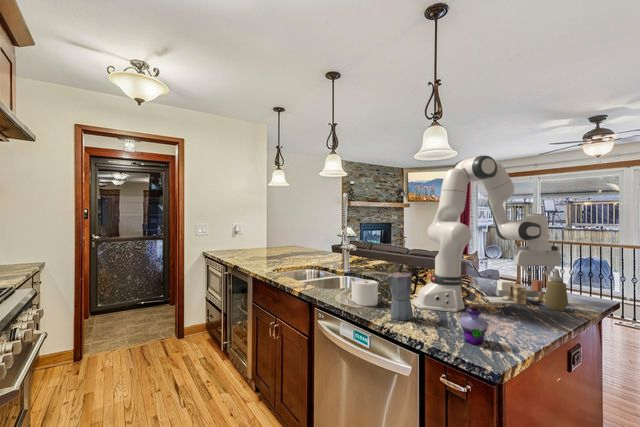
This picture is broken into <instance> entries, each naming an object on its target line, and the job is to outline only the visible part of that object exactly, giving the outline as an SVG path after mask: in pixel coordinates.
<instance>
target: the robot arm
mask: <svg viewBox="0 0 640 427" xmlns="http://www.w3.org/2000/svg"><path fill="white" fill-rule="evenodd" d="M476 181H477V182H478V181H481V182H482V183H483V186H484V188H485V190H486V192H487V196H488V197H487V204H488V208H489V210H490V213H491V216H492V219H493V221H494V224H495V225H494V226H495V233H496V234H497V236H498V238H499V239H501V240H504V241H505V240H506V241H521V242H522V241H523V242H525V244H526V246H517V247H516V248H515V249H514V258H513V259H514V260H513V262H514V264H515V265H516V266H520V267H522V269H523V271H524V275H525V276H530V275H531V271H529V270H528V268H529V267H546V268H547V270H545V271H544V274H545V276H551V272H552V270H553V269H554V267H561V265H562V254H561V252H560V251H561V247H560V246H558V245H554V244H552V243H551V244H550V243H549V237H548V234H549V223H548V222H549V221H548V219H547V216H546V215H544V214H541V213H528V214H527V216H526V217H525V218H522V219H520V220H512V219H510V218H508V216H507V213H506V211H505V207H504V203H505V202H507V201H508V200H509V199H511V198H512V196H513V195H514V193H515V186H514V183H513V180H512V178H511V177H510V174H508V172H507V170H506V169H505V168H504V166H503V165H502V164H501V163H499V162H498V161H496V160H495V159H494V158H493V157H492V156H489V155H479V156H474V157H468V158H465V159H462V160H460V161H458V162H456V163H454V165H453V167H452V168H451V169H447V171H446V172H445V174H444V176H443V180H442V184H441V189H440V195H439V203H438V206H437V211H436V212H435V215H434V219H433V220H432V223H431V224H430V225H429V226H428V228H427V235H428V238H429V239H430V240H431V241H432V242H434V243H436V244H440V247H439V251H438V253H437V255H436V256H435V258H434V274H431V273H428V274H427V278H428V279H430V282H428V283H427V284H426V285H424V286H423V287H421V288H420V289H418V292H417V293H418V294H417V296H416V297H417V298H413V299H412V304H413V306H414V307H416V308H418V309H421V310H430V311H441V312H453V313H457V312H458V311H461V310H464V309H465V308H466V307H465V304H464V301H463V294H462V288H463V287H462V286H463V277H462V259H463V258H462V257H463V254H464V251H465V248H466V246H467V245H468V244H469V243H470V242H471V239H472V235H473V233H472V230H471V228H470V227H469V226H468V225H466V224H464V223H463V222H459V221H458V220H459V218H460V215H462V214H463V212H464V211H465V208H466V207H465V206H466V202H467V200H466V199H467V193H468V185H469V183H470V182H476Z"/></svg>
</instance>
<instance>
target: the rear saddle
mask: <svg viewBox="0 0 640 427" xmlns="http://www.w3.org/2000/svg"><path fill="white" fill-rule="evenodd" d="M545 298H546V291H542V297H534V300H535V301H537V302H539V303H542V304H545V305H547V303H546V300H545Z"/></svg>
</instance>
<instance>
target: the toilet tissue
mask: <svg viewBox="0 0 640 427" xmlns="http://www.w3.org/2000/svg"><path fill="white" fill-rule="evenodd" d="M378 283H379V282H377V280H372V279H358V280H355V281H353V280H351V293H350V294H351V298H350V299H351V300H352V302H354V303H355V304H356V305H357V306H361V307H375V306H377V305H378V299H379V298H378V296H379V295H378V293H379V290H378V288H379V284H378Z"/></svg>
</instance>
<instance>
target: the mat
mask: <svg viewBox="0 0 640 427" xmlns="http://www.w3.org/2000/svg"><path fill="white" fill-rule="evenodd" d="M484 297H485V298H484V299H486V300H488V301H490V302H491V303H493V304H509V305H510V304H514V305H517V304H516V303H515V302H513V301H511V300H509V299H507V298H505V297H504V296H484Z"/></svg>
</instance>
